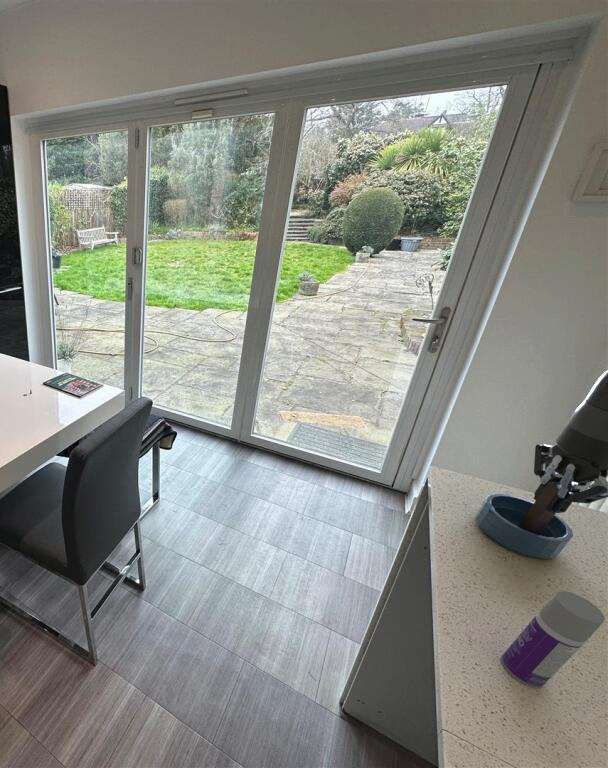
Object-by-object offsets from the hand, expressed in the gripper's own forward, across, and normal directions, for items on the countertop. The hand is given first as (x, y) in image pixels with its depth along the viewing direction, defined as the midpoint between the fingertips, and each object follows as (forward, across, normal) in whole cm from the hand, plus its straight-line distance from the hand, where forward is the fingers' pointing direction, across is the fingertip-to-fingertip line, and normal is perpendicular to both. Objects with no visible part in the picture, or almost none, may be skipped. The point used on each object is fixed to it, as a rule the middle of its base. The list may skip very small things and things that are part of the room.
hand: (546, 505), depth 77 cm
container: (+10, -26, +20) cm, 34 cm away
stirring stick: (+8, 0, 0) cm, 8 cm away
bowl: (+10, +2, 0) cm, 10 cm away
